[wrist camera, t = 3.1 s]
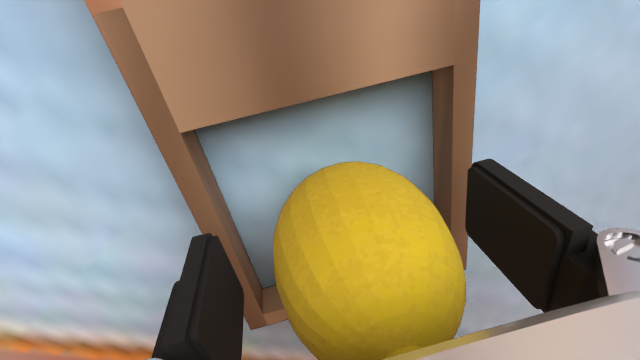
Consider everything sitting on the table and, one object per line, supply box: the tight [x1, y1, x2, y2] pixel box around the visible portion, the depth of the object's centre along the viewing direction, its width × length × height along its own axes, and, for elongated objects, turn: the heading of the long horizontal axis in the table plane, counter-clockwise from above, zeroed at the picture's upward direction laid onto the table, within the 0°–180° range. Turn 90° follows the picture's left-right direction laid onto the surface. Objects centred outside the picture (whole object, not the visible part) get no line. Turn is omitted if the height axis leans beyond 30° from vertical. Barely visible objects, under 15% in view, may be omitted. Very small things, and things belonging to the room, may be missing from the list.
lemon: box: [273, 162, 466, 360], centre depth 10 cm, size 6×6×8 cm
